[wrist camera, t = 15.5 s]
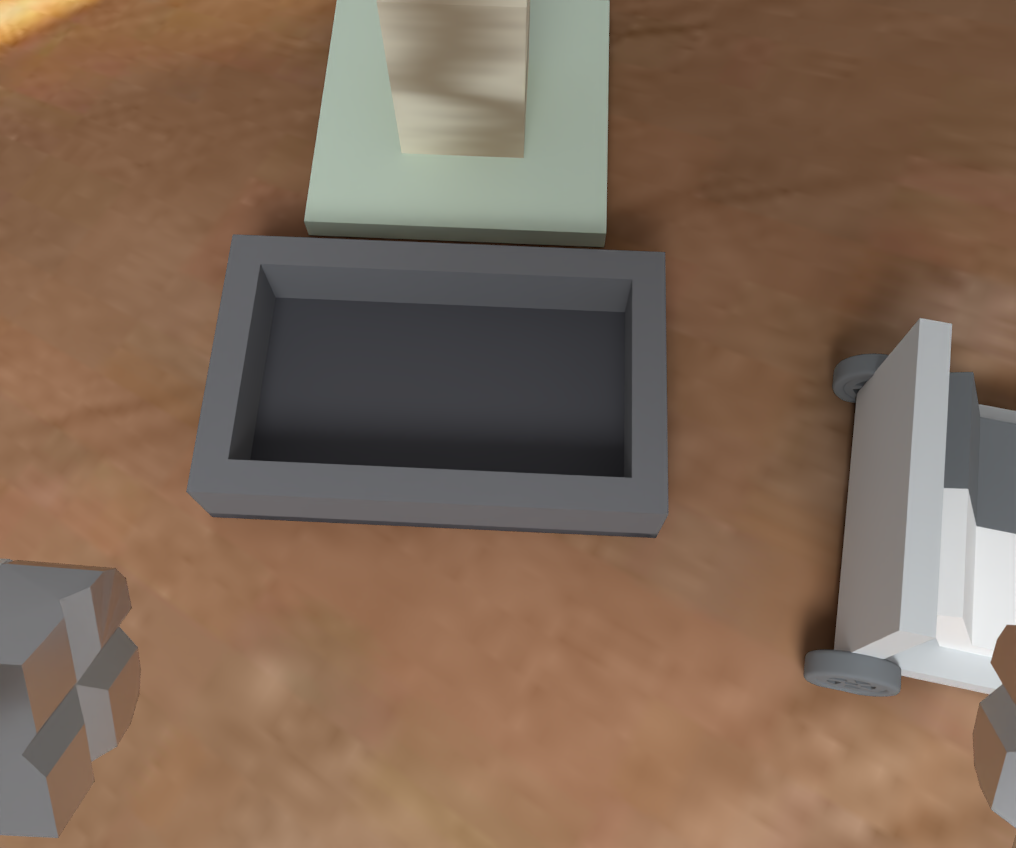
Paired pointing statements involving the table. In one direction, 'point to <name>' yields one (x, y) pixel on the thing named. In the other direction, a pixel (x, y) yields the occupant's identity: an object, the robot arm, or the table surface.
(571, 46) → the pad
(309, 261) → the tray
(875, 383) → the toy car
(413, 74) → the birch block
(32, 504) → the table surface
